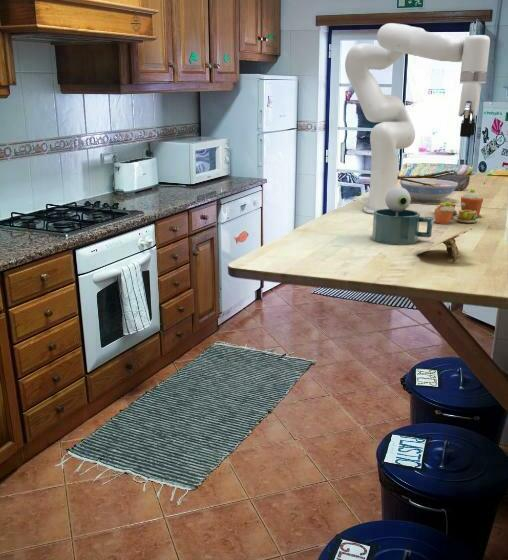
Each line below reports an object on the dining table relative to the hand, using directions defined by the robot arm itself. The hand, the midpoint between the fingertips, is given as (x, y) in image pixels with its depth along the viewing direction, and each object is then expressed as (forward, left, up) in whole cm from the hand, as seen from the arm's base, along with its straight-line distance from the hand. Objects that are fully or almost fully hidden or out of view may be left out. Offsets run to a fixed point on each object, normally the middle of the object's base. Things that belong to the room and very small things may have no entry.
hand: (467, 135), depth 199 cm
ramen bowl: (-33, +40, -29) cm, 59 cm away
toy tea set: (-6, +12, -29) cm, 32 cm away
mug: (-2, -32, -29) cm, 43 cm away
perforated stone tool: (-41, +76, -29) cm, 91 cm away
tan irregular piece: (+17, -41, -29) cm, 53 cm away
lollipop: (-3, -32, -28) cm, 43 cm away
